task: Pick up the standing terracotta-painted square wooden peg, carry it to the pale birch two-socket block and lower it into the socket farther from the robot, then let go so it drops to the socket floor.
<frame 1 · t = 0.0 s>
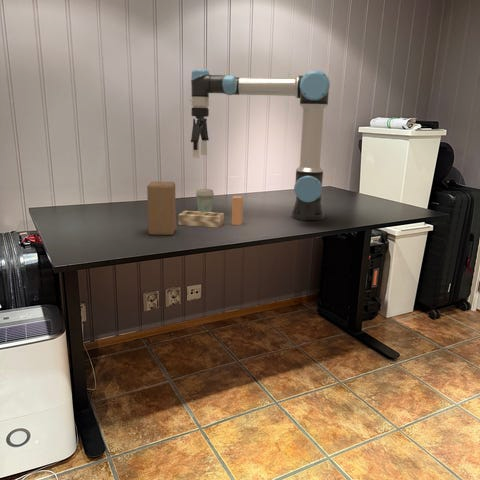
hand: (200, 156, 211), 28 cm above the table, fingers open, 13 cm apart
coffee cup: (204, 215, 222), on the table
socket block: (201, 223, 205), on the table
block: (162, 232, 189), on the table
peg: (237, 223, 207), on the table
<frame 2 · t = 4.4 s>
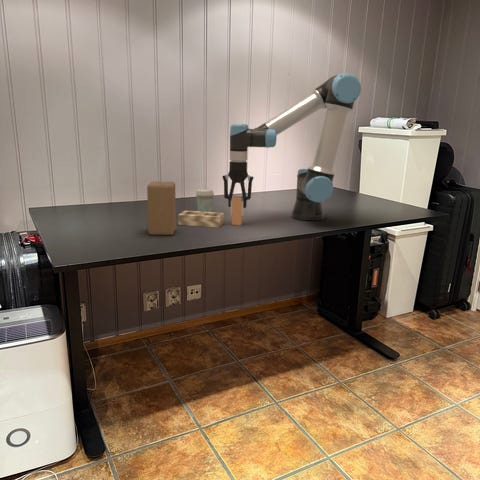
hand: (237, 214, 205), 4 cm above the table, fingers closed on peg, 4 cm apart
peg: (237, 223, 207), on the table, touching gripper
everything else where it was.
when the fingers open (7 cm above the table, at t = 9.2 s): peg drops 3 cm, resting in socket block.
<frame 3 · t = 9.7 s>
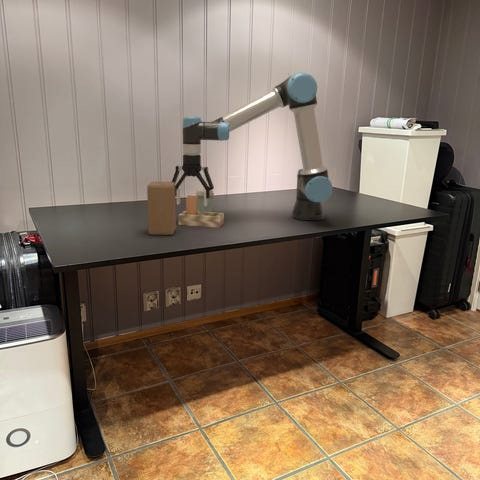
hand: (192, 204, 203), 8 cm above the table, fingers open, 11 cm apart
peg: (192, 223, 205), resting in socket block
everything else where it was.
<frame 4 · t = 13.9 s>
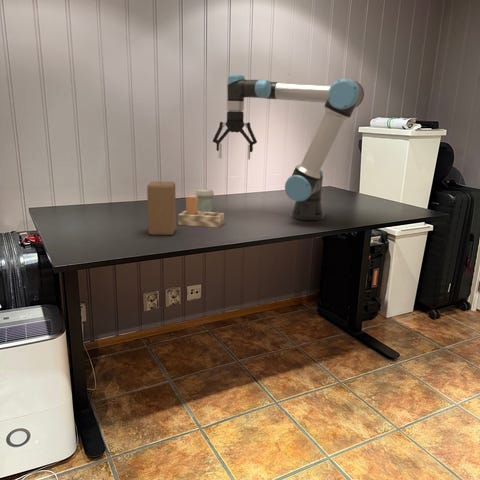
hand: (234, 158, 216), 27 cm above the table, fingers open, 13 cm apart
nothing on the table moved.
at the end: peg 0.0 cm from the target spot on the socket block, point 0.0 cm above the socket block's base; peg tilted 0°; the gripper is holding nothing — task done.
